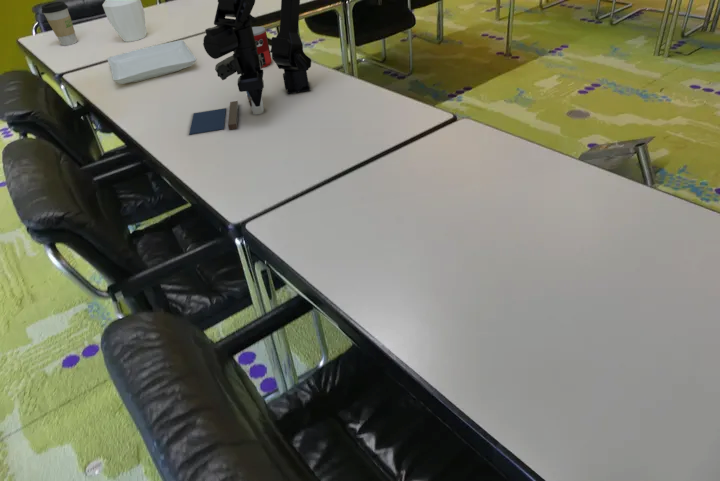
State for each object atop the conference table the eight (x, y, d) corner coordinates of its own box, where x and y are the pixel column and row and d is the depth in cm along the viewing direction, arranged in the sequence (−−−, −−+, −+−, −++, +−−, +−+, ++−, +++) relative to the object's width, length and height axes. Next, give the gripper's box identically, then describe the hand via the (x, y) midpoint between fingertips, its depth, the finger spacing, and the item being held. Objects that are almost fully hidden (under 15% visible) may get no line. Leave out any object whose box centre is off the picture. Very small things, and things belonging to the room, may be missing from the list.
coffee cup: (86, 40, 219) (71, 1, 210) (65, 47, 213) (48, 8, 203) (73, 38, 223) (56, 0, 214) (52, 45, 217) (34, 7, 208)
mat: (226, 109, 148) (225, 108, 148) (223, 129, 138) (223, 128, 138) (194, 114, 148) (193, 113, 147) (189, 134, 137) (189, 133, 137)
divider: (238, 105, 149) (237, 100, 148) (237, 128, 137) (235, 123, 136) (231, 106, 149) (230, 101, 148) (229, 130, 137) (228, 124, 136)
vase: (142, 30, 221) (119, -35, 206) (158, 35, 213) (136, -33, 197) (110, 41, 214) (84, -27, 198) (126, 46, 206) (100, -23, 190)
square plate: (185, 48, 196) (182, 38, 194) (200, 69, 176) (197, 58, 174) (110, 66, 188) (105, 55, 186) (117, 90, 168) (112, 79, 166)
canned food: (244, 68, 173) (236, 34, 166) (256, 59, 178) (249, 26, 172) (264, 69, 170) (256, 34, 163) (276, 60, 176) (269, 26, 169)
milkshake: (266, 115, 142) (258, 79, 136) (247, 115, 143) (238, 80, 137) (271, 108, 146) (264, 72, 139) (253, 108, 147) (245, 73, 141)
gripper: (214, 38, 140) (229, 94, 150) (209, 62, 125) (226, 122, 135) (256, 32, 141) (268, 88, 150) (256, 55, 126) (269, 115, 136)
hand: (257, 103), depth 143 cm, fingers closed on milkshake, 4 cm apart
